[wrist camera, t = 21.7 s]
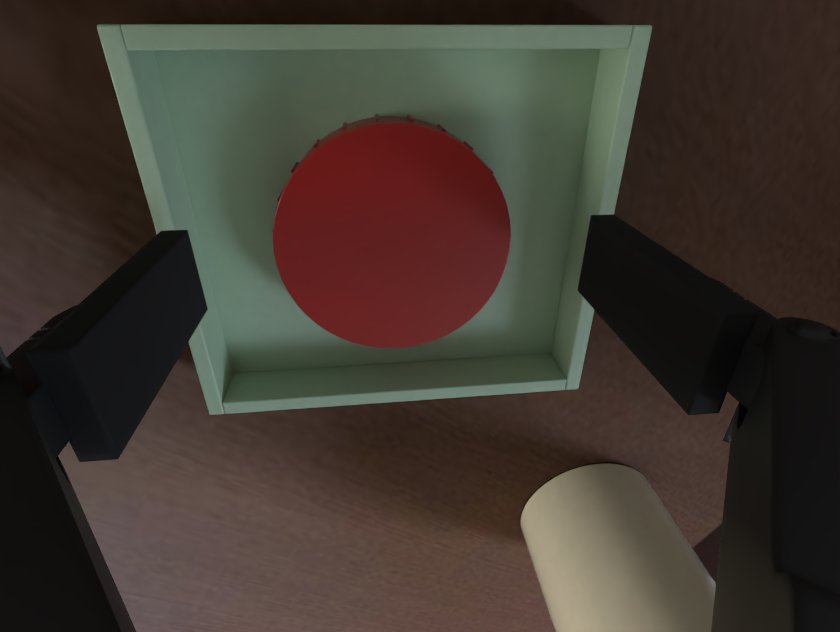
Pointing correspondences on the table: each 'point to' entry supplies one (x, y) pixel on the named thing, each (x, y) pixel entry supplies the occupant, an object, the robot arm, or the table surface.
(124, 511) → the table surface
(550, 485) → the jar
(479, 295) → the jar lid
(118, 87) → the tray
